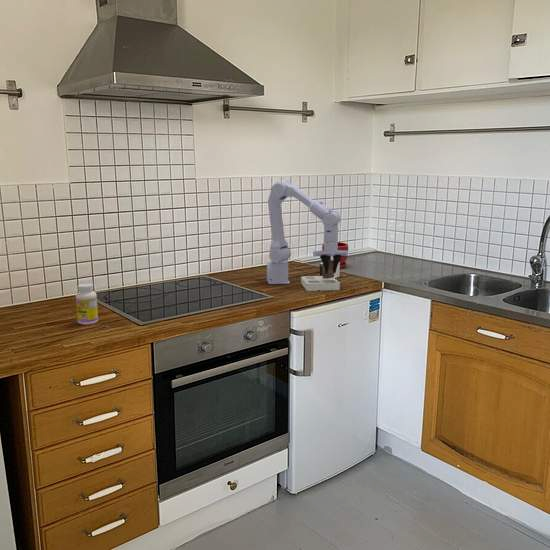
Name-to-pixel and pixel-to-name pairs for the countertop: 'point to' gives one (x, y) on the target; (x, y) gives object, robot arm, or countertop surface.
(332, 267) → the walnut pin
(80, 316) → the supplement bottle
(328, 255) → the robot arm
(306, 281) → the pin board
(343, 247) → the plant pot
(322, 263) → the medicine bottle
